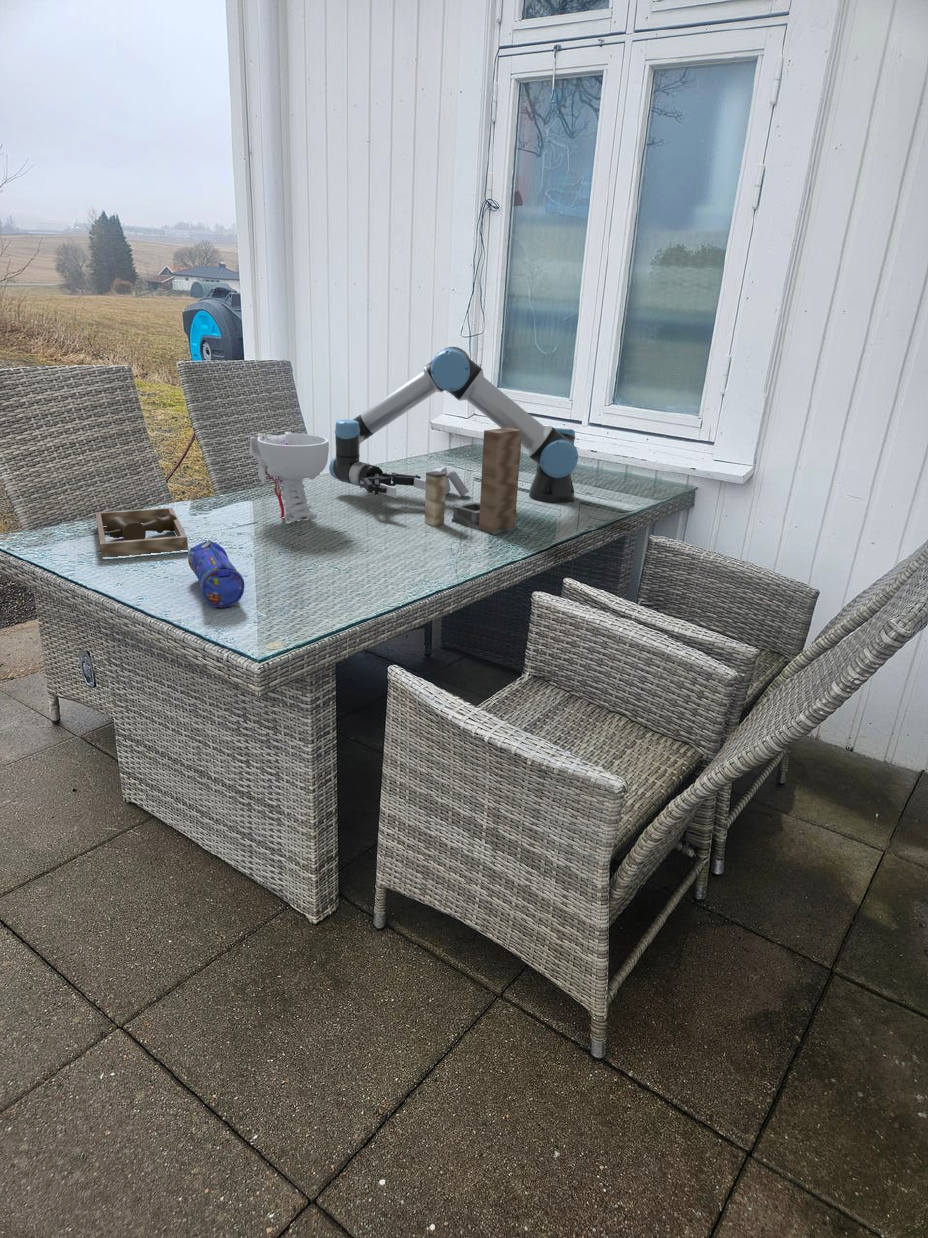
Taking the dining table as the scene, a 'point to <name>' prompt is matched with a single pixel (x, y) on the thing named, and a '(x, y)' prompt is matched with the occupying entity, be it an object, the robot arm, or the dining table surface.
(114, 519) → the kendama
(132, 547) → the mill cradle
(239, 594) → the pencil case
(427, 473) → the beige wooden tall block
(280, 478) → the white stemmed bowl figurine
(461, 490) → the wall hook
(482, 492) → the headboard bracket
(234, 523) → the dining table surface
